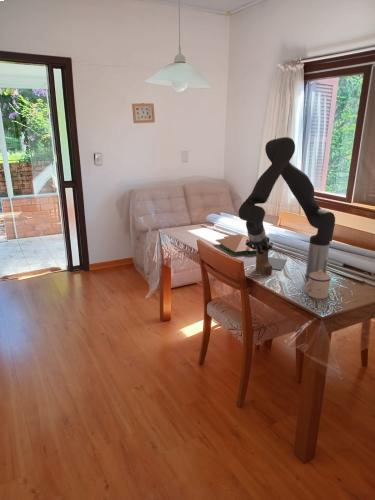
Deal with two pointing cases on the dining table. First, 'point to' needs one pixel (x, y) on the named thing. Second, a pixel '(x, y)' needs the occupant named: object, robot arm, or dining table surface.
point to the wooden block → (263, 262)
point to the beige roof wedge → (235, 243)
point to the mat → (277, 263)
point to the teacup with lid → (318, 284)
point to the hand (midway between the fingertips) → (261, 252)
